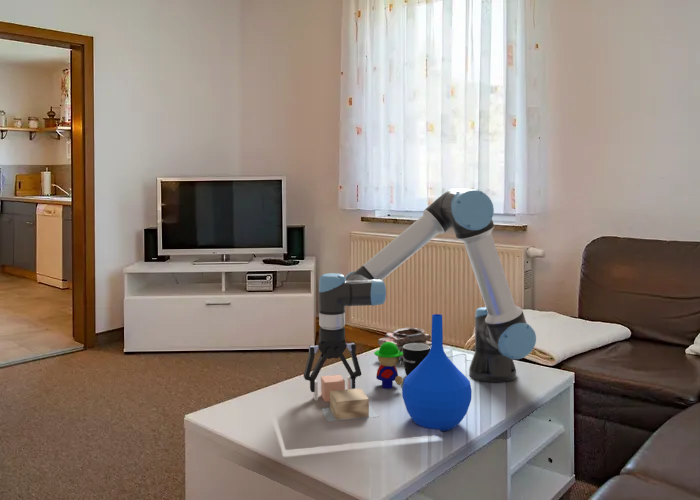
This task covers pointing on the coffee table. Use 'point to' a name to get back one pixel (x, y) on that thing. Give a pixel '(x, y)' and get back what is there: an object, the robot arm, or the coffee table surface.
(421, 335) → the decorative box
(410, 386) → the vase
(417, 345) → the mug
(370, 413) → the board
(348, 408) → the oak brick
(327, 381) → the salmon pink block
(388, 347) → the toy
